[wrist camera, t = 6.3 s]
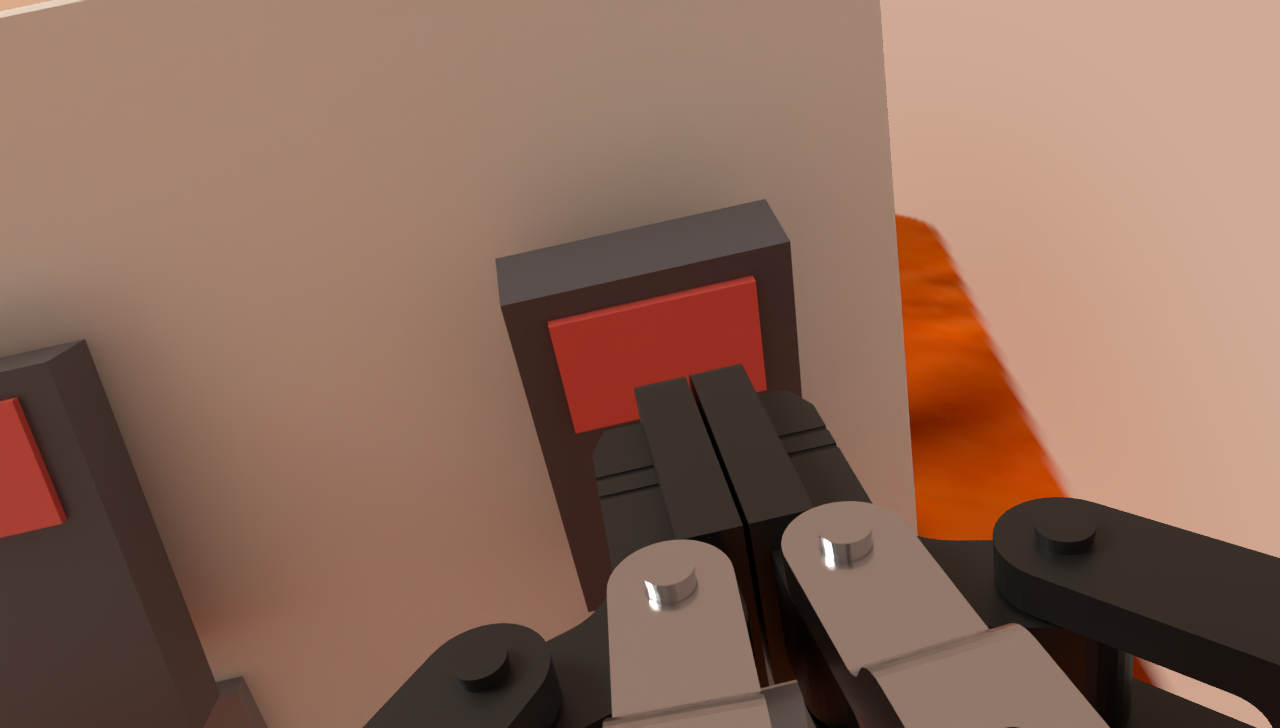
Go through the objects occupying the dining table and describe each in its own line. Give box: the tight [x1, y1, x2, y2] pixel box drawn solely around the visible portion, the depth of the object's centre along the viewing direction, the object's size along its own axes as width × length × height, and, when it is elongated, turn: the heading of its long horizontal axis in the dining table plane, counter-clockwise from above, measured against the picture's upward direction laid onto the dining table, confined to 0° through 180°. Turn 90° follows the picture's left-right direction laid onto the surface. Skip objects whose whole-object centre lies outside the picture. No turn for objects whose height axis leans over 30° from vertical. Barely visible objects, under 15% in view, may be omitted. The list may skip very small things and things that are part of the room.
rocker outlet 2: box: [495, 199, 802, 612], centre depth 20 cm, size 2×5×8 cm, turn 97°
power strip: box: [0, 0, 918, 728], centre depth 24 cm, size 10×25×20 cm, turn 98°
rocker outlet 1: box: [0, 339, 220, 728], centre depth 20 cm, size 2×5×8 cm, turn 98°
